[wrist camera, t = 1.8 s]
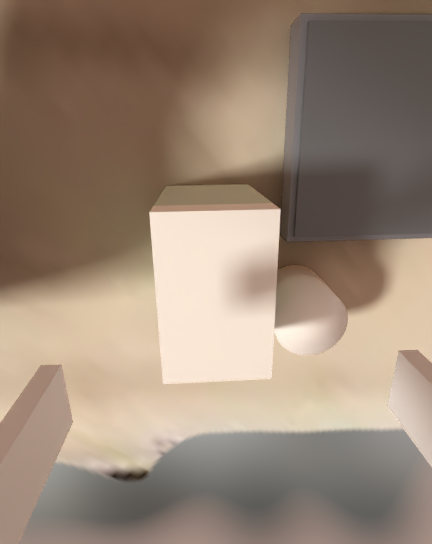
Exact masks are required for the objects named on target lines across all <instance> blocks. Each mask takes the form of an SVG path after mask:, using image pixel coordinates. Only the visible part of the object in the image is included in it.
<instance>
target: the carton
mask: <svg viewBox="0 0 432 544" xmlns="http://www.w3.org/2000/svg"><path fill="white" fill-rule="evenodd" d="M280 211H281V209H280V208H278V207H277V206H276V205H275V204H273V203H272V202H271V201H269V200H268V199H267V198H265V197H264V196H263V195H261V194H260V193H259V192H258V191H256V190H255V189H254V188H252V187H251V186H250V185H248V184H231V185H180V186H166V187H165V188H164V190H163V192H162V193H161V195H160V196H159V198H158V199H157V201H156V203H155V204H154V206H153V207H152V209H151V210H150V212H149V215H150V228H151V240H152V253H153V265H154V278H155V290H156V302H157V315H158V327H159V340H160V352H161V365H162V377H163V384H174V383H195V382H215V381H236V380H256V379H272V362H273V343H274V324H275V305H276V287H277V268H278V249H279V230H280Z"/></svg>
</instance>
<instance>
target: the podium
mask: <svg viewBox="0 0 432 544" xmlns="http://www.w3.org/2000/svg"><path fill="white" fill-rule="evenodd" d="M280 235H281V236H282V237H283V238H284V239H285V240H286V241H287V242H305V241H340V240H376V239H411V238H432V14H311V13H301V14H300V15H299V17H298V18H297V19H296V20H295V21H294V23H293V24H292V25H291V37H290V56H289V74H288V93H287V111H286V130H285V149H284V167H283V186H282V204H281V223H280Z"/></svg>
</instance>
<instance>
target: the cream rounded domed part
mask: <svg viewBox="0 0 432 544" xmlns="http://www.w3.org/2000/svg"><path fill="white" fill-rule="evenodd" d="M347 321H348V316H347V311H346V308H345V306H344V304H343V302H342V301H341V300H340V299H339V298H338V297H337V296H336V295H335V294H334V292H333V291H332V290H331V289H330V288H329V287H328V286H327V285H326V284H325V283H324V282H323V281H322V280H321V279H320V277H319V276H318V275H317V274H316V273H315V272H314V271H313V270H311V269H310V268H307V267H305V266H302V265H288V266H284V267H282V268H279V269H278V270H277V287H276V305H275V324H274V332H275V335H276V337H277V339H278V341H279V342H280V344H281V345H282V346H283V347H284V348H285V349H287V350H288V351H290V352H292V353H295V354H298V355H315V354H319V353H322V352H324V351H326V350H328V349H330V348H331V347H332V346H334V345H335V344H336V343H337V342H338V341H339V340H340V339H341V337H342V336H343V334H344V332H345V330H346V327H347Z"/></svg>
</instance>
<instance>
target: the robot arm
mask: <svg viewBox="0 0 432 544" xmlns="http://www.w3.org/2000/svg"><path fill="white" fill-rule="evenodd" d="M387 407H388V408H389V409H390V411H391V412H392V413H393V415H394V416H395V418H396V419H397V420H398V422H399V423H400V424H401V426H402V427H403V429H404V430H405V431H406V433H407V434H408V435H409V437H410V438H411V439H412V441H413V442H414V444H415V445H416V446H417V448H418V449H419V450H420V452H421V453H422V455H423V456H424V457H425V459H426V460H427V462H428V463H429V464H430V466H431V467H432V363H431V362H430V361H429V360H428V359H427V358H425V357H424V356H423V355H422V354H421V353H420V352H419V351H418V350H403V351H398V356H397V361H396V366H395V371H394V376H393V381H392V386H391V391H390V396H389V401H388V406H387ZM72 423H73V420H72V415H71V410H70V405H69V400H68V395H67V390H66V385H65V380H64V375H63V370H62V365H41V366H40V367H39V369H38V370H37V372H36V373H35V375H34V376H33V377H32V379H31V380H30V382H29V383H28V385H27V386H26V387H25V389H24V390H23V392H22V393H21V394H20V396H19V397H18V399H17V400H16V402H15V403H14V404H13V406H12V407H11V409H10V410H9V412H8V413H7V414H6V416H5V417H4V419H3V420H2V422H1V423H0V544H19V541H20V539H21V537H22V535H23V533H24V530H25V528H26V526H27V523H28V521H29V519H30V517H31V514H32V512H33V510H34V508H35V505H36V503H37V501H38V499H39V497H40V494H41V492H42V490H43V488H44V485H45V483H46V481H47V478H48V476H49V474H50V472H51V470H52V467H53V465H54V463H55V461H56V458H57V456H58V454H59V452H60V450H61V447H62V445H63V443H64V441H65V438H66V436H67V434H68V432H69V429H70V427H71V425H72Z"/></svg>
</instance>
